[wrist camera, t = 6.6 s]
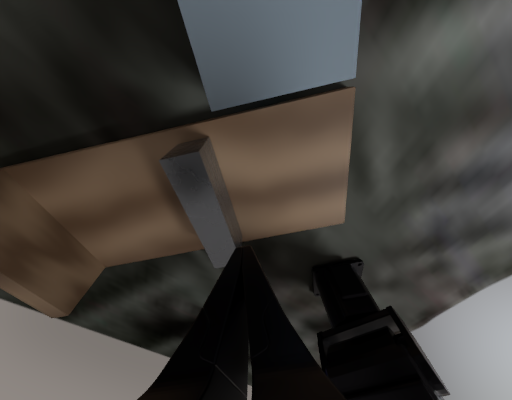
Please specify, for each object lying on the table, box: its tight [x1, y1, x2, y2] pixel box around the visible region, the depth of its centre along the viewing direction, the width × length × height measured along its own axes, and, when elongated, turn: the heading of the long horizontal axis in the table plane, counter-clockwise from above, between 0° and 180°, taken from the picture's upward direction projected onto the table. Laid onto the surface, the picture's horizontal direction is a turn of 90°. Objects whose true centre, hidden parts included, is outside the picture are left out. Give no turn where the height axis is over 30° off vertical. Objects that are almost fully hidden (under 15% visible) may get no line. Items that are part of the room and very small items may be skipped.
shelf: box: [0, 87, 355, 318], centre depth 14 cm, size 12×28×6 cm, turn 102°
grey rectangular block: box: [159, 137, 242, 269], centre depth 14 cm, size 10×2×4 cm, turn 12°
